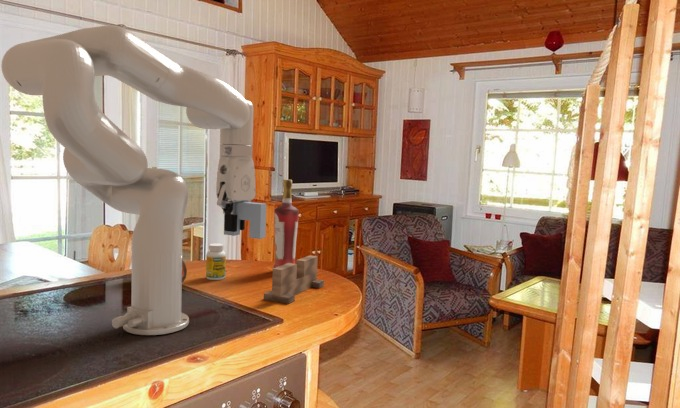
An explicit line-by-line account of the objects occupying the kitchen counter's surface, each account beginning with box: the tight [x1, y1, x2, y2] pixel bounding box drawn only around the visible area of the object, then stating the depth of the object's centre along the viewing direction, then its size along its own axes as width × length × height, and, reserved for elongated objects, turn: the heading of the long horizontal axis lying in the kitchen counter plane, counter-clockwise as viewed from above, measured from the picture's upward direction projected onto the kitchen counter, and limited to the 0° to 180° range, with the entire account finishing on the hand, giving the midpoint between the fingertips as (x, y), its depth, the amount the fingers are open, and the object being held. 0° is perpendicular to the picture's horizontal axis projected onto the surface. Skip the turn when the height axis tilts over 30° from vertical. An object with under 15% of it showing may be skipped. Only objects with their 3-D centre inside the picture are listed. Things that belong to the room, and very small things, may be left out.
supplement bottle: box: [205, 242, 227, 281], centre depth 143 cm, size 5×5×10 cm
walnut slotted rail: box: [263, 254, 325, 305], centre depth 132 cm, size 20×7×8 cm, turn 157°
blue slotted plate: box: [223, 200, 267, 240], centre depth 120 cm, size 10×2×8 cm, turn 67°
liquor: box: [273, 178, 300, 268], centre depth 154 cm, size 7×7×28 cm
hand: (234, 229), depth 121 cm, fingers closed on blue slotted plate, 2 cm apart
